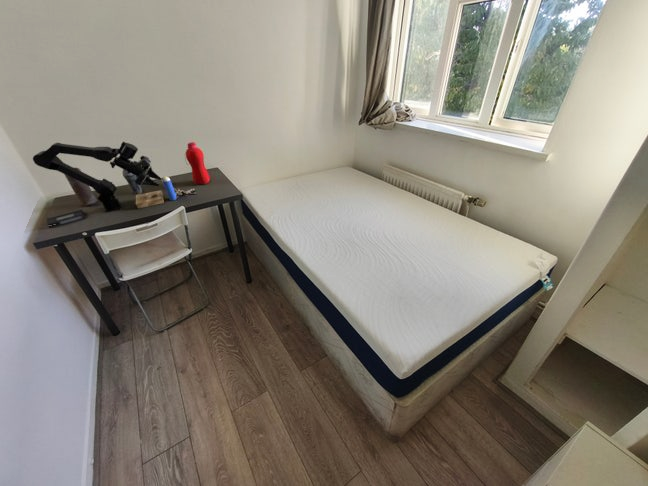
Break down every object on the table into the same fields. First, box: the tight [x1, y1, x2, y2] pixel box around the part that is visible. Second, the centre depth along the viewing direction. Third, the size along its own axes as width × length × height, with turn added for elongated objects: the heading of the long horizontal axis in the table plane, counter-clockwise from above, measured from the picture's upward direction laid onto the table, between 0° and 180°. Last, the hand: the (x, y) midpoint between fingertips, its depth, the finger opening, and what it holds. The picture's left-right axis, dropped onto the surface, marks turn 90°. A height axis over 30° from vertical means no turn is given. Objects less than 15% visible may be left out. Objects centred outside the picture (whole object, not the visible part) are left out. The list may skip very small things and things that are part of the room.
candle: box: [63, 167, 98, 207], centre depth 148 cm, size 8×7×20 cm
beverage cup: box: [122, 168, 143, 195], centre depth 160 cm, size 7×7×20 cm
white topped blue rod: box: [161, 176, 178, 201], centre depth 154 cm, size 4×4×14 cm
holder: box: [135, 189, 165, 209], centre depth 155 cm, size 13×12×3 cm
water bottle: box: [184, 141, 211, 186], centre depth 169 cm, size 9×11×25 cm
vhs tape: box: [46, 209, 85, 229], centre depth 139 cm, size 8×14×2 cm, turn 130°
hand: (159, 182), depth 150 cm, fingers open, 9 cm apart
